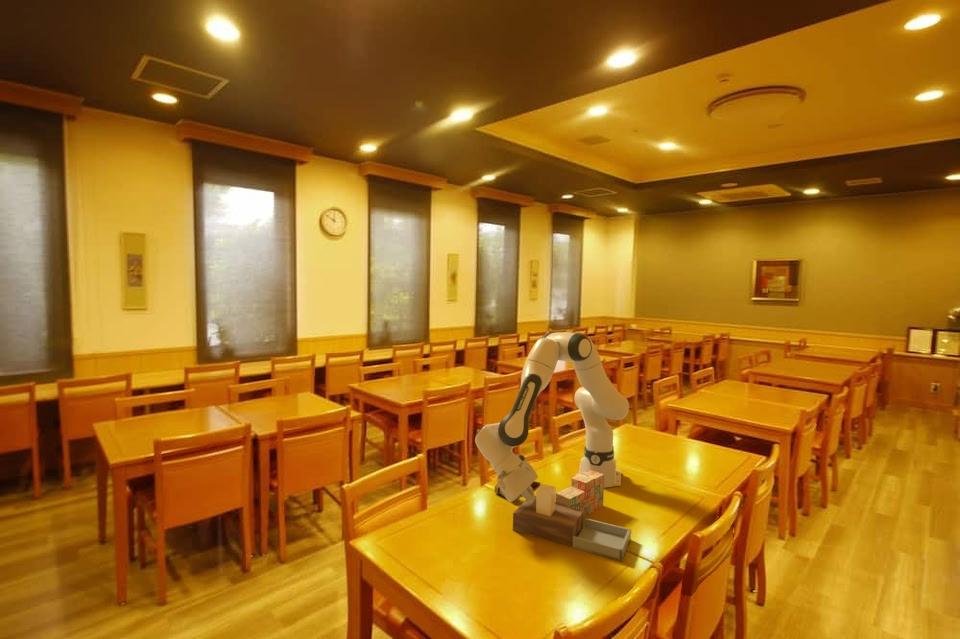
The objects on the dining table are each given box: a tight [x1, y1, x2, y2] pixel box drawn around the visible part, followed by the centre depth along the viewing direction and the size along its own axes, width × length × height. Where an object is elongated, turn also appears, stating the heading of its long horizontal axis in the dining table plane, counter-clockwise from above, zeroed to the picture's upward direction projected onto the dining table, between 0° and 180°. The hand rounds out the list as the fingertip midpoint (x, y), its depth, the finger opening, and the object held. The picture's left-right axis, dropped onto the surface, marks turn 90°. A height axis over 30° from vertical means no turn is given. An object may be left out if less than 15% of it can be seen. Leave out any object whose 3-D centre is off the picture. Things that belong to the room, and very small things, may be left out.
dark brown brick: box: [512, 499, 584, 548], centre depth 157 cm, size 13×20×6 cm, turn 62°
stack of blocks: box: [555, 470, 605, 518], centre depth 169 cm, size 21×6×12 cm, turn 133°
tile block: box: [535, 483, 557, 516], centre depth 157 cm, size 5×5×8 cm
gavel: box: [494, 480, 542, 503], centre depth 186 cm, size 21×5×10 cm
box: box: [572, 517, 632, 562], centre depth 148 cm, size 14×15×4 cm
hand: (534, 501), depth 159 cm, fingers closed
